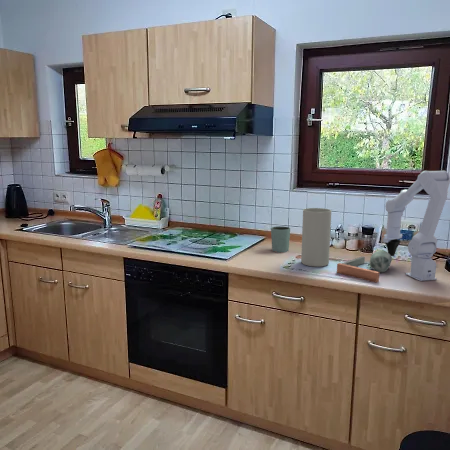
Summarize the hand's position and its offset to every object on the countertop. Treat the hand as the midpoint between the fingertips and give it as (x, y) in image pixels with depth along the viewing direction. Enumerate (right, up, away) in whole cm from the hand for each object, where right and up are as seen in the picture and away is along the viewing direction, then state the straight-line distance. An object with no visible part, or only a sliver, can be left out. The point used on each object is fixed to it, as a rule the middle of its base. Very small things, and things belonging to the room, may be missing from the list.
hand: (391, 255), depth 191 cm
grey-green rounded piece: (-7, -6, -6) cm, 11 cm away
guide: (-14, -6, -10) cm, 18 cm away
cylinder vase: (-34, -4, +3) cm, 35 cm away
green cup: (-47, +1, +27) cm, 54 cm away
